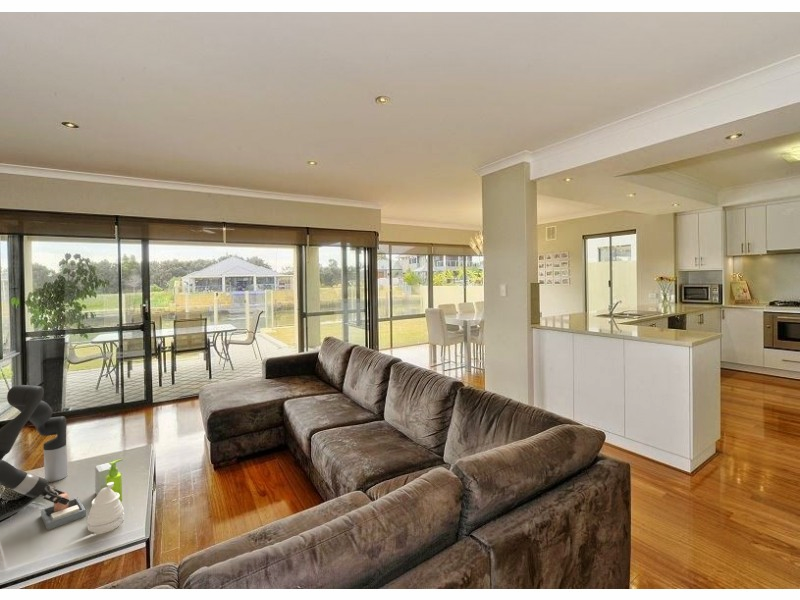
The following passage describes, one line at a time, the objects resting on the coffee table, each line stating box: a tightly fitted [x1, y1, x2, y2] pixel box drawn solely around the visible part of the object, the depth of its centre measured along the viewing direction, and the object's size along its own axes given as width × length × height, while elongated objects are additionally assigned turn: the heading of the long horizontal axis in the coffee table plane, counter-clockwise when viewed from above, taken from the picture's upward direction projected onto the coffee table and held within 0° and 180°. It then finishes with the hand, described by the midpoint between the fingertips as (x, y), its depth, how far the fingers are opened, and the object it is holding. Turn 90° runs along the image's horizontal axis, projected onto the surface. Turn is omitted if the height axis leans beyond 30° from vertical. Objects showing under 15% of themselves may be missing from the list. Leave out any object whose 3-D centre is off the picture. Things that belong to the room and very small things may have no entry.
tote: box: [40, 496, 87, 531], centre depth 174 cm, size 15×13×4 cm
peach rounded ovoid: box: [53, 492, 69, 513], centre depth 176 cm, size 5×5×8 cm
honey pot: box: [86, 482, 125, 535], centre depth 169 cm, size 13×13×18 cm
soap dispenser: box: [106, 458, 124, 502], centre depth 187 cm, size 6×7×20 cm
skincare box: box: [94, 462, 111, 496], centre depth 192 cm, size 8×6×15 cm
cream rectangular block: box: [51, 505, 79, 521], centre depth 171 cm, size 4×9×4 cm, turn 141°
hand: (65, 498), depth 177 cm, fingers open, 8 cm apart
